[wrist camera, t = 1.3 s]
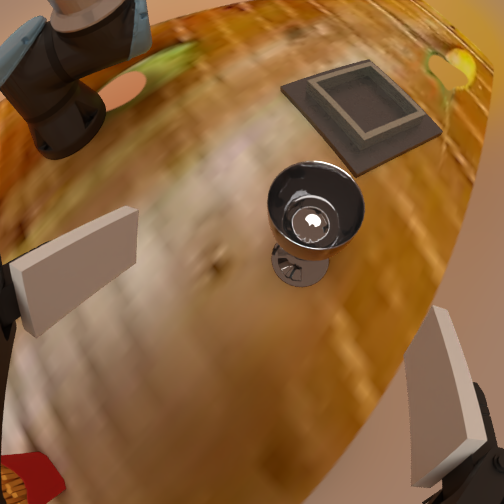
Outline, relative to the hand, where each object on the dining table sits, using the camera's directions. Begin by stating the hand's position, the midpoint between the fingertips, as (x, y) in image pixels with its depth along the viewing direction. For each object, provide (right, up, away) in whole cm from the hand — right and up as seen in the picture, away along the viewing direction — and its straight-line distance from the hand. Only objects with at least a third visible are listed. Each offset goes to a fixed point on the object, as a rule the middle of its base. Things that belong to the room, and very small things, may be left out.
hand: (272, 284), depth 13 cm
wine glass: (+5, 0, +26) cm, 27 cm away
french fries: (-31, -31, +18) cm, 47 cm away
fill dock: (+17, +25, +34) cm, 45 cm away
